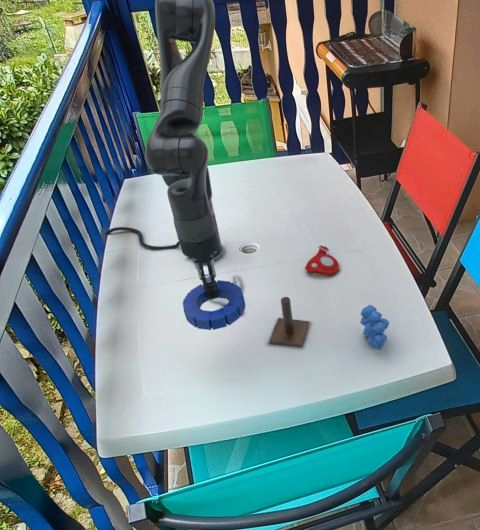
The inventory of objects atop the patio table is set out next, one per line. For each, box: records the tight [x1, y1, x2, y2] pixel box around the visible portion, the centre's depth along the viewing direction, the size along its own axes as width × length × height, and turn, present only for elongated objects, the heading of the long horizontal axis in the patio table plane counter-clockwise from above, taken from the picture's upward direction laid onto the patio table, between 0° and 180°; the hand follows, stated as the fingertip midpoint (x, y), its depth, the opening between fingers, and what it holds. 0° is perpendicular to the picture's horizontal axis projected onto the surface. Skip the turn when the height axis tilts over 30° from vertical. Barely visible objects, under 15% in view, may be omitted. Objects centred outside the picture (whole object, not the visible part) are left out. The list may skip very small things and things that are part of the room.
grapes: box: [359, 304, 390, 350], centre depth 119 cm, size 12×7×12 cm, turn 23°
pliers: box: [210, 275, 242, 306], centre depth 133 cm, size 10×2×15 cm
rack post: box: [268, 296, 310, 347], centre depth 121 cm, size 8×8×12 cm
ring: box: [182, 279, 247, 331], centre depth 107 cm, size 12×12×3 cm
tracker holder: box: [304, 244, 340, 276], centre depth 144 cm, size 12×4×10 cm
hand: (212, 292), depth 110 cm, fingers closed on ring, 3 cm apart
